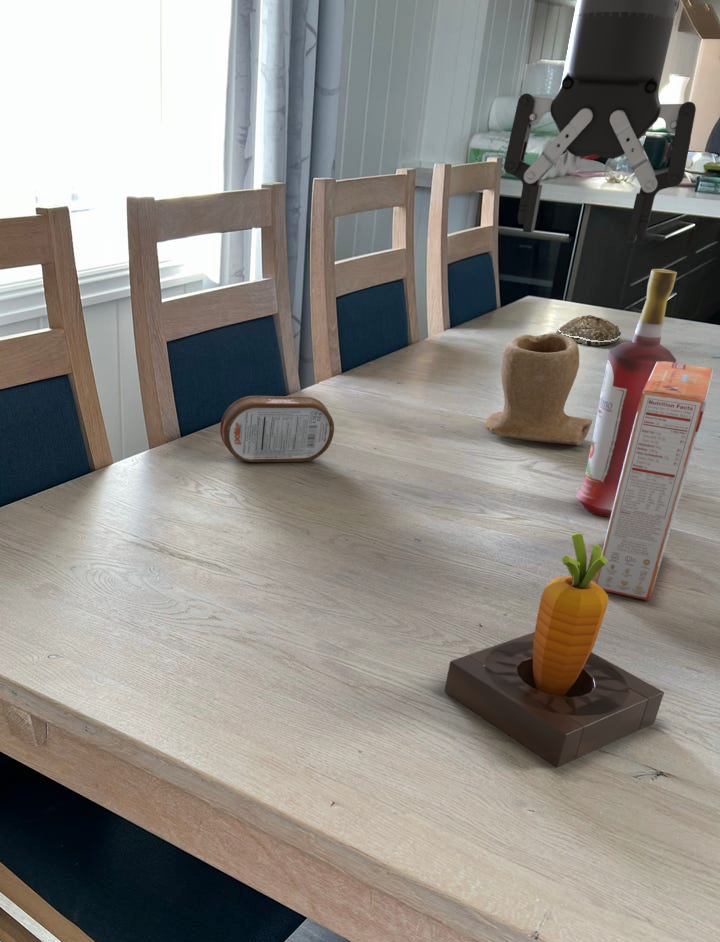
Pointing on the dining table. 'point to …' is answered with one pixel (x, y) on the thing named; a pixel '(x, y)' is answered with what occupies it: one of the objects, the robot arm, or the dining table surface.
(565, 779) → the dining table surface
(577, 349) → the stone cup
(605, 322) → the brown shell
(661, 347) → the liquor
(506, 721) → the socket pad
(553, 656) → the carrot
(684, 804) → the dining table surface
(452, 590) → the dining table surface
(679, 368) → the cracker box
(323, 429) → the tin
